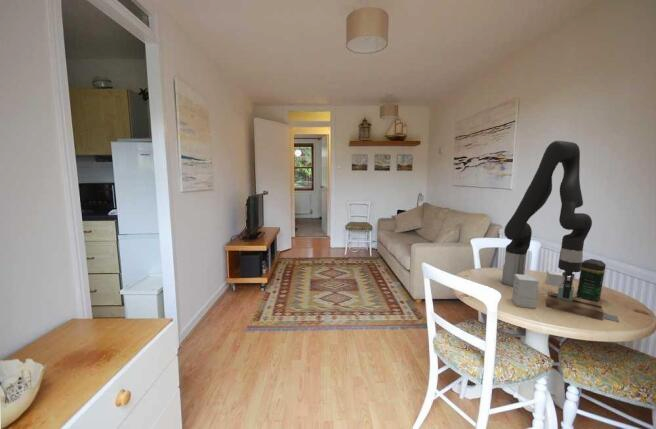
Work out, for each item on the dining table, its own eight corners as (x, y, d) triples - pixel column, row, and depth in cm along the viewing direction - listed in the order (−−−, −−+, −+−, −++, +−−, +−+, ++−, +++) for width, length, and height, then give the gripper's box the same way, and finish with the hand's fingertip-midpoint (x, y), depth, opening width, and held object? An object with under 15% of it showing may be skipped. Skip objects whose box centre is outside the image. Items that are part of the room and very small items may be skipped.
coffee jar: (596, 303, 127) (603, 264, 124) (574, 297, 133) (579, 259, 131) (602, 298, 133) (608, 260, 130) (580, 292, 139) (585, 256, 136)
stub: (556, 304, 125) (559, 285, 124) (556, 303, 126) (559, 283, 125) (571, 307, 122) (574, 288, 121) (571, 306, 123) (573, 286, 122)
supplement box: (529, 301, 128) (533, 275, 127) (535, 309, 122) (539, 281, 120) (511, 299, 131) (514, 273, 129) (516, 306, 124) (519, 278, 122)
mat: (603, 318, 114) (603, 318, 114) (602, 313, 119) (602, 312, 119) (619, 322, 111) (619, 321, 111) (617, 316, 116) (617, 316, 116)
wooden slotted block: (545, 306, 124) (546, 298, 123) (547, 298, 132) (547, 291, 131) (602, 320, 113) (603, 311, 112) (599, 310, 121) (601, 302, 120)
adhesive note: (562, 286, 146) (563, 275, 145) (548, 284, 149) (549, 273, 148) (559, 283, 152) (561, 272, 151) (545, 280, 154) (547, 270, 153)
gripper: (559, 254, 129) (555, 287, 131) (559, 261, 118) (554, 297, 120) (581, 257, 124) (576, 292, 126) (583, 264, 113) (577, 302, 116)
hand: (565, 294), depth 123 cm, fingers open, 8 cm apart
